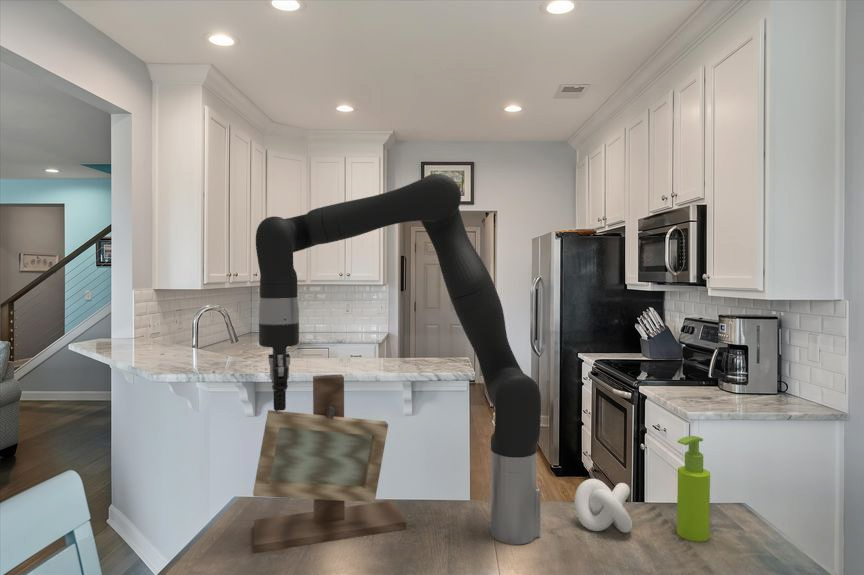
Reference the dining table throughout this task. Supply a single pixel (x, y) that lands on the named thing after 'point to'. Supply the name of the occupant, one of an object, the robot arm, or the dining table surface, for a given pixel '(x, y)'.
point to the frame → (320, 457)
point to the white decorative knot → (602, 506)
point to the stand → (328, 514)
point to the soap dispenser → (693, 494)
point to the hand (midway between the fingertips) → (279, 409)
